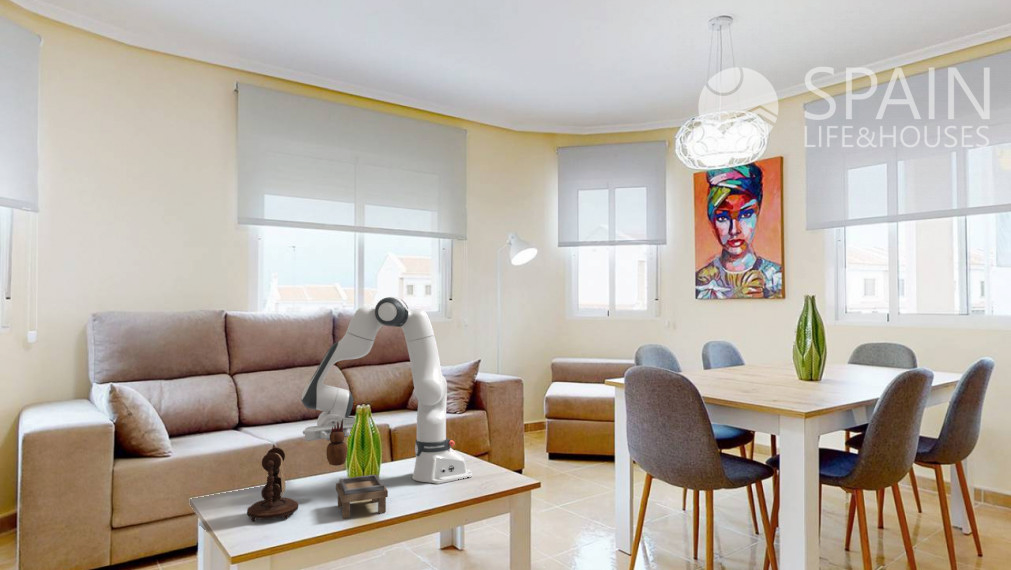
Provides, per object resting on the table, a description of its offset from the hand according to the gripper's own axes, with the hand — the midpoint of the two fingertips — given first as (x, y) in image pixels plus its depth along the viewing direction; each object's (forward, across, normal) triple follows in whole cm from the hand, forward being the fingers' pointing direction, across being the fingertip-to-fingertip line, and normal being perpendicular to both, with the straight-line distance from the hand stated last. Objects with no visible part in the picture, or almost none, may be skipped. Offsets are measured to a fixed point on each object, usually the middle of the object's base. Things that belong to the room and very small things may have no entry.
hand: (337, 435), depth 196 cm
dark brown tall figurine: (+9, -21, +20) cm, 31 cm away
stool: (+15, +5, +21) cm, 26 cm away
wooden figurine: (-1, 0, +10) cm, 10 cm away
